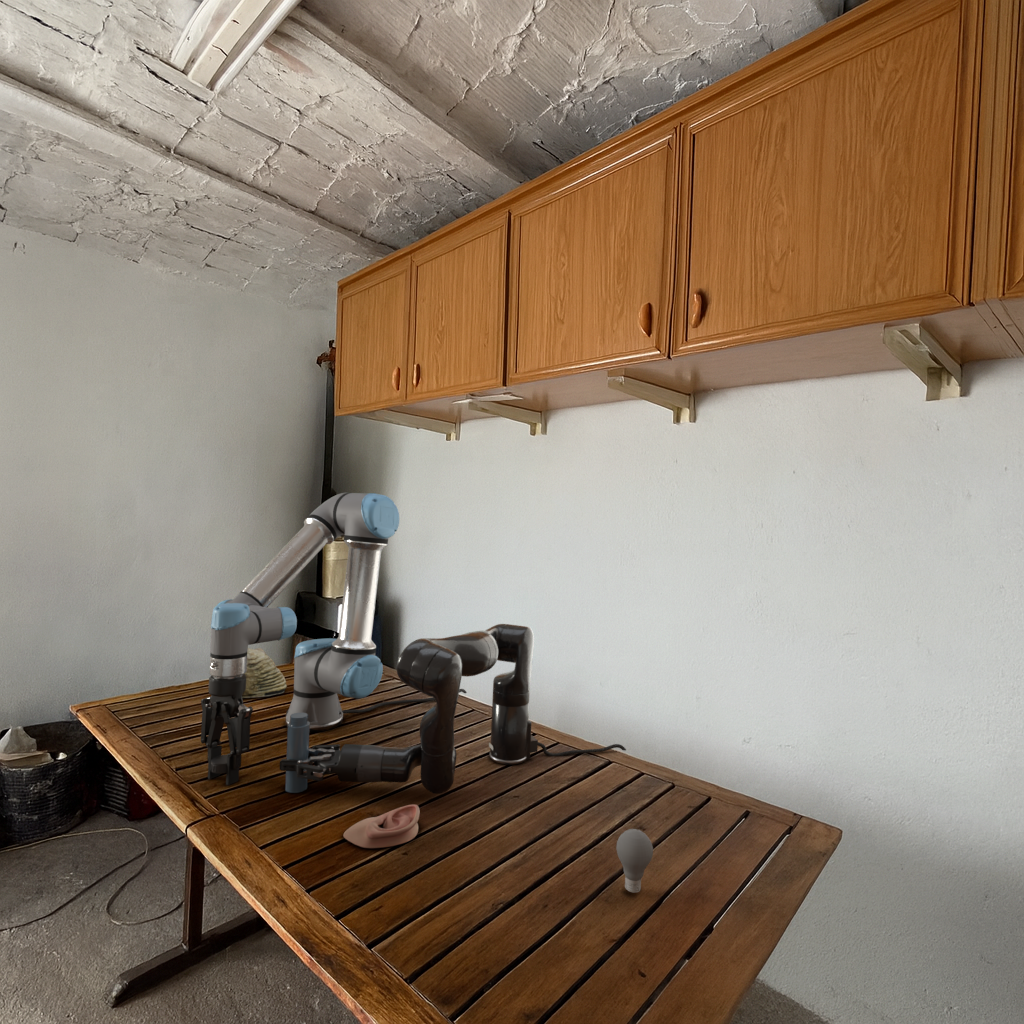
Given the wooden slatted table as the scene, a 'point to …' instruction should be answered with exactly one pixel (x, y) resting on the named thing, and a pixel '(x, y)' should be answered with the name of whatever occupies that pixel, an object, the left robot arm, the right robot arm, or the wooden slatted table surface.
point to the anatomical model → (385, 828)
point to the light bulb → (634, 857)
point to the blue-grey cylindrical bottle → (297, 749)
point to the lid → (219, 764)
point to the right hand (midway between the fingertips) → (285, 759)
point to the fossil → (262, 675)
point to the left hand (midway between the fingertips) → (223, 779)
